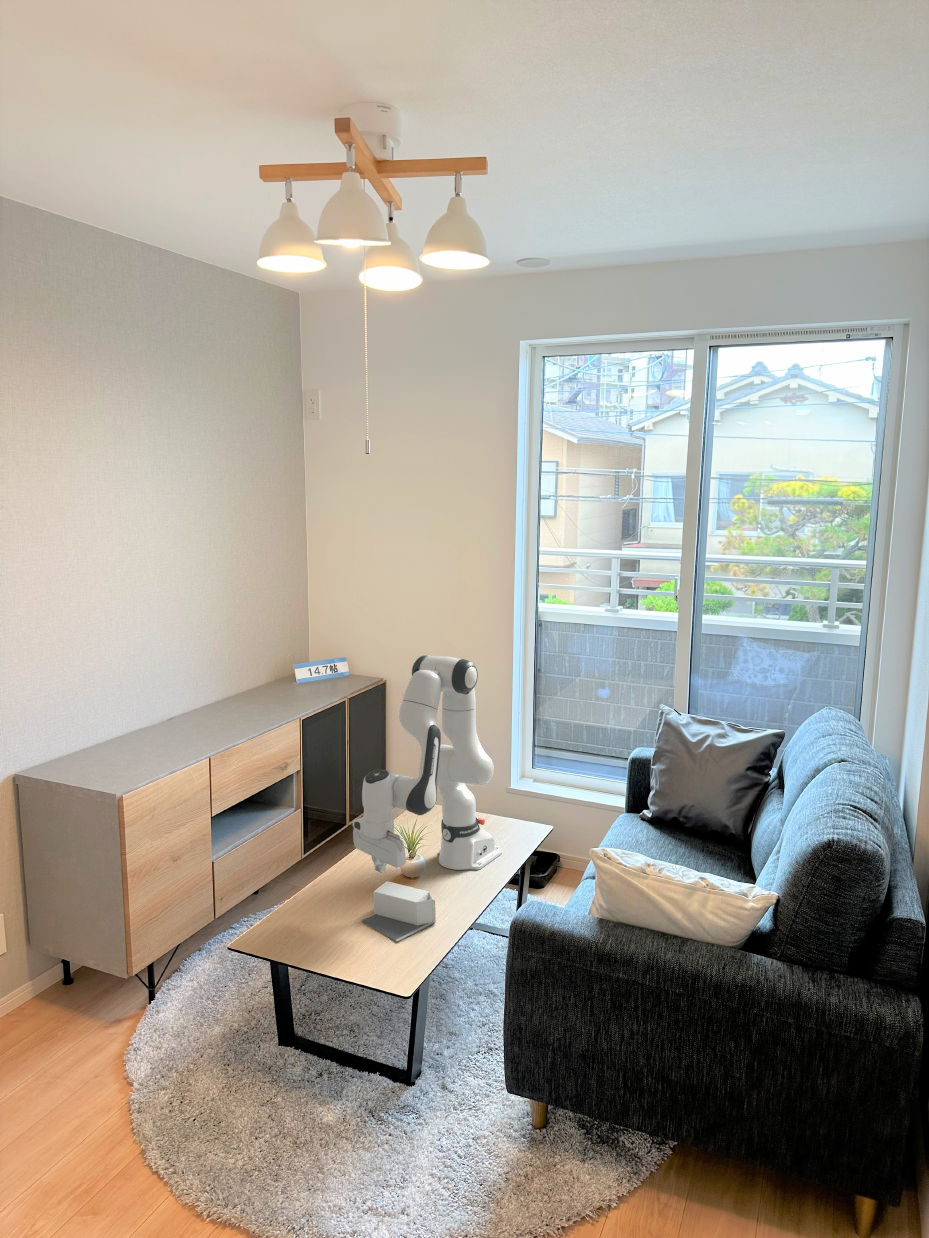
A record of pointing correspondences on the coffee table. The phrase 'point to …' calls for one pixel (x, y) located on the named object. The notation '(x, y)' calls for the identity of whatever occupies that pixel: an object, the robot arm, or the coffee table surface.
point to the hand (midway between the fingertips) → (380, 871)
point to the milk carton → (404, 904)
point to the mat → (393, 927)
